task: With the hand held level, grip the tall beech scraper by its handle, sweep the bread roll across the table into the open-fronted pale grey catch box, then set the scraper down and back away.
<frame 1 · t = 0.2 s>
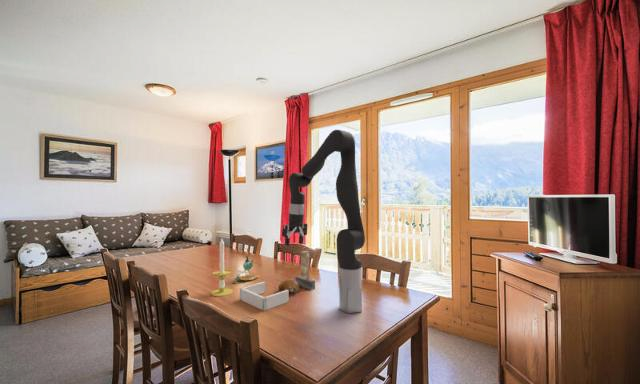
hand: (294, 244, 141), 22 cm above the table, fingers open, 8 cm apart
frog figurine: (245, 280, 156), on the table
candle: (221, 293, 135), on the table
catch box: (265, 300, 126), on the table
scraper: (305, 286, 144), on the table
bread roll: (288, 292, 136), on the table
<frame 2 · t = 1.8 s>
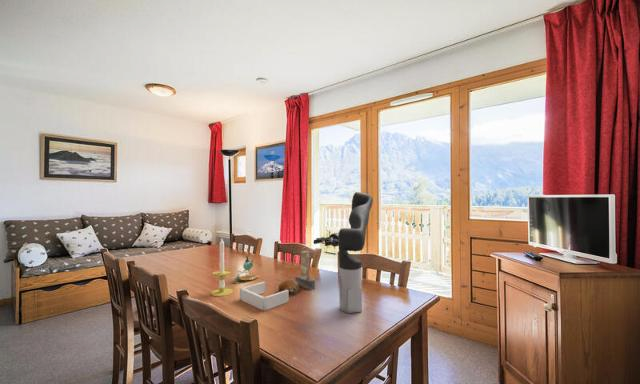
hand: (319, 243, 152), 21 cm above the table, fingers open, 8 cm apart
nothing on the table moved.
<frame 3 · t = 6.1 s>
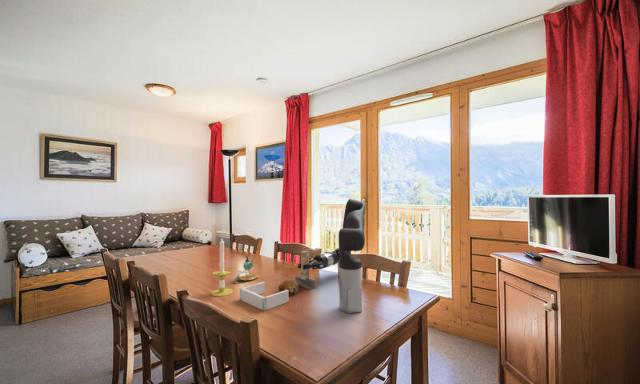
hand: (300, 267, 142), 11 cm above the table, fingers closed on scraper, 3 cm apart
scraper: (305, 286, 144), on the table, touching gripper
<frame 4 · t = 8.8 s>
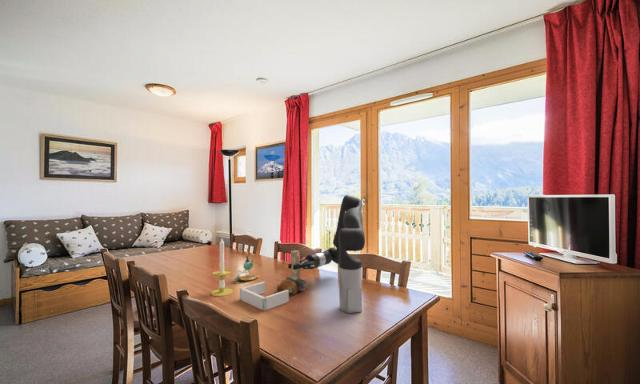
hand: (291, 267, 137), 12 cm above the table, fingers closed on scraper, 3 cm apart
scraper: (296, 286, 139), point 1 cm above the table, touching bread roll, gripper
bread roll: (287, 293, 134), on the table, touching scraper
everything else where it was.
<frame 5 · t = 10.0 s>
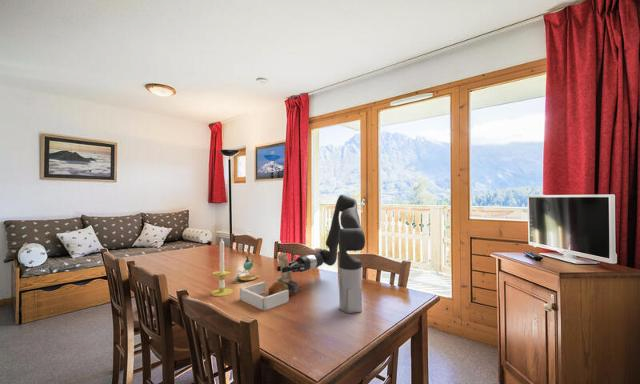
hand: (280, 269, 132), 12 cm above the table, fingers closed on scraper, 3 cm apart
scraper: (289, 288, 136), point 2 cm above the table, tilted 14°, touching gripper
bread roll: (278, 296, 131), on the table
everything else where it was.
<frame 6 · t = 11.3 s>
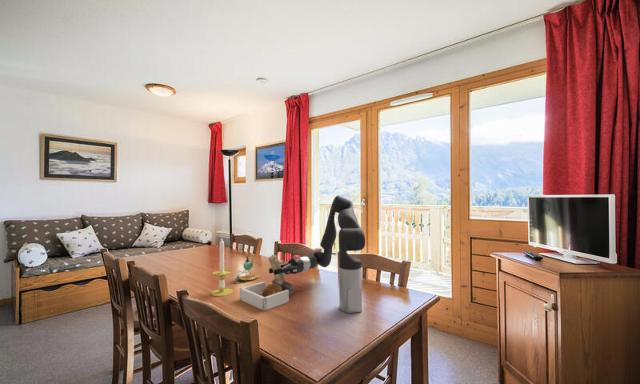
hand: (271, 271, 128), 12 cm above the table, fingers closed on scraper, 3 cm apart
scraper: (283, 289, 134), point 2 cm above the table, tilted 21°, touching bread roll, gripper
bread roll: (272, 298, 128), on the table, touching scraper
everything else where it was.
when the fingers open (11 cm above the table, at t = 13.6 s): scraper moves 1 cm and tips over, point 1 cm above the table.
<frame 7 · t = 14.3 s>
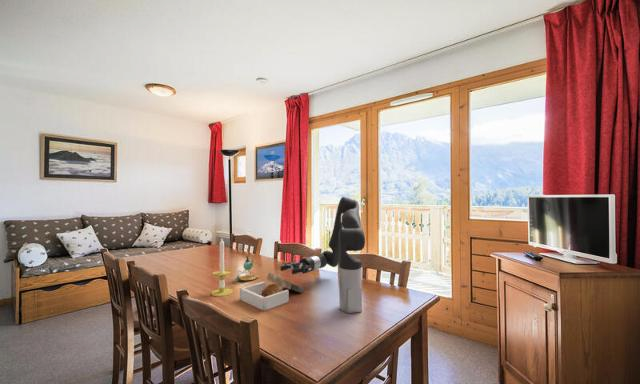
hand: (286, 270, 135), 11 cm above the table, fingers open, 8 cm apart
scraper: (294, 288, 139), point 1 cm above the table, tilted 59°
bread roll: (272, 298, 128), on the table
everything else where it was.
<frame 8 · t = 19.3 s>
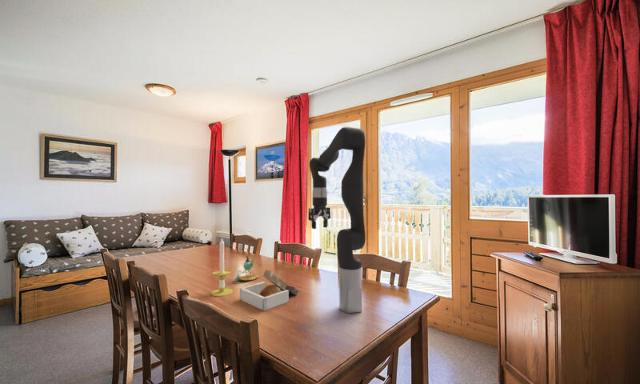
hand: (319, 228, 144), 30 cm above the table, fingers open, 8 cm apart
scraper: (288, 290, 136), point 1 cm above the table, tilted 51°, touching bread roll
bread roll: (270, 299, 127), on the table, touching scraper
everything else where it was.
at the end: bread roll 2.5 cm from the catch box (horizontally); bread roll moved 11.6 cm from its start; the gripper is holding nothing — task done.
